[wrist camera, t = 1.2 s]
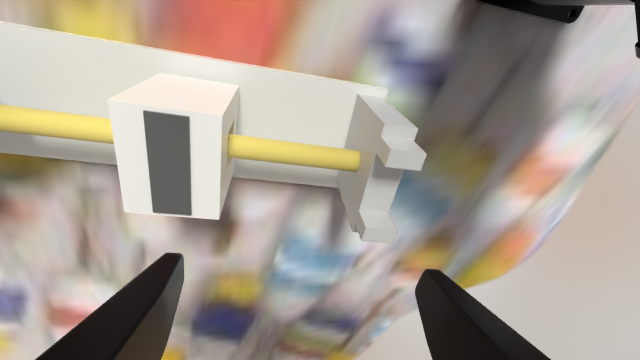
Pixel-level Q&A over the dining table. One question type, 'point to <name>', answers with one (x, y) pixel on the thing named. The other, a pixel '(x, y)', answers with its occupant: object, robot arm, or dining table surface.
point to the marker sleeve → (174, 145)
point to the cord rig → (246, 147)
